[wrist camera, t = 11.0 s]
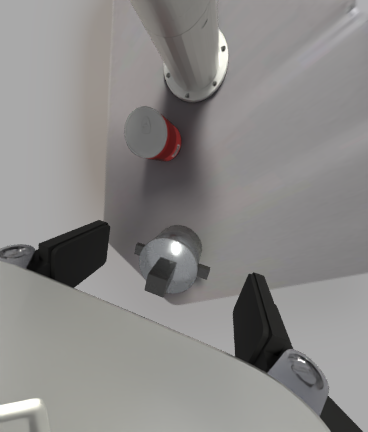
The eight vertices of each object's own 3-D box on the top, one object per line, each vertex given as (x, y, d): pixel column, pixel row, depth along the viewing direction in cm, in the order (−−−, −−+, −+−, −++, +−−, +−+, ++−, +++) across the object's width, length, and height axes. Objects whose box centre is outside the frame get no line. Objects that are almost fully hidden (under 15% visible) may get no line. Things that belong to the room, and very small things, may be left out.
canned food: (179, 119, 37) (161, 99, 26) (184, 158, 38) (170, 153, 28) (147, 128, 39) (118, 112, 28) (154, 164, 40) (129, 161, 30)
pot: (153, 216, 44) (136, 227, 35) (217, 236, 41) (216, 254, 33) (145, 255, 47) (128, 274, 39) (204, 276, 45) (199, 301, 36)
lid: (146, 229, 35) (128, 242, 28) (205, 248, 33) (200, 267, 26) (137, 278, 39) (119, 300, 32) (189, 298, 37) (181, 326, 30)
